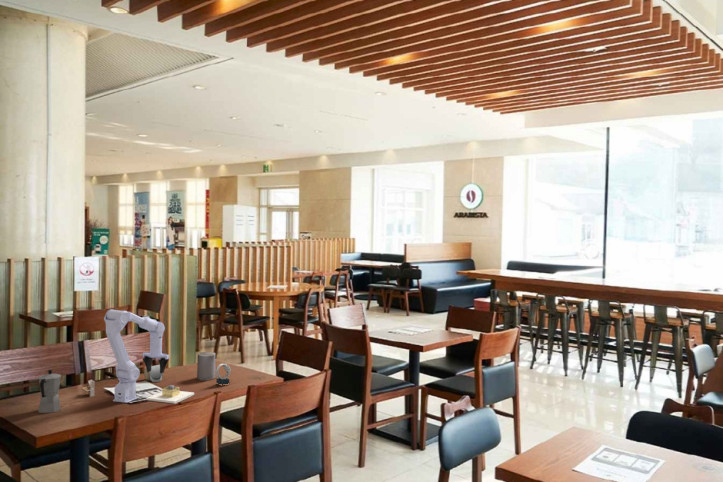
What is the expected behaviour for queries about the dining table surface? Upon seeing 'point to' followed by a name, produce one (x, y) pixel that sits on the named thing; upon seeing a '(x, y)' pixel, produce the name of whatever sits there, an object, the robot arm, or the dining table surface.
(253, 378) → the dining table surface
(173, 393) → the wooden square ring
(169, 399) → the post stand
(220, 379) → the watch
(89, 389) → the architectural model
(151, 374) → the ceramic mug
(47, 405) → the coffeepot
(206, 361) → the pillar candle
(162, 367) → the robot arm
